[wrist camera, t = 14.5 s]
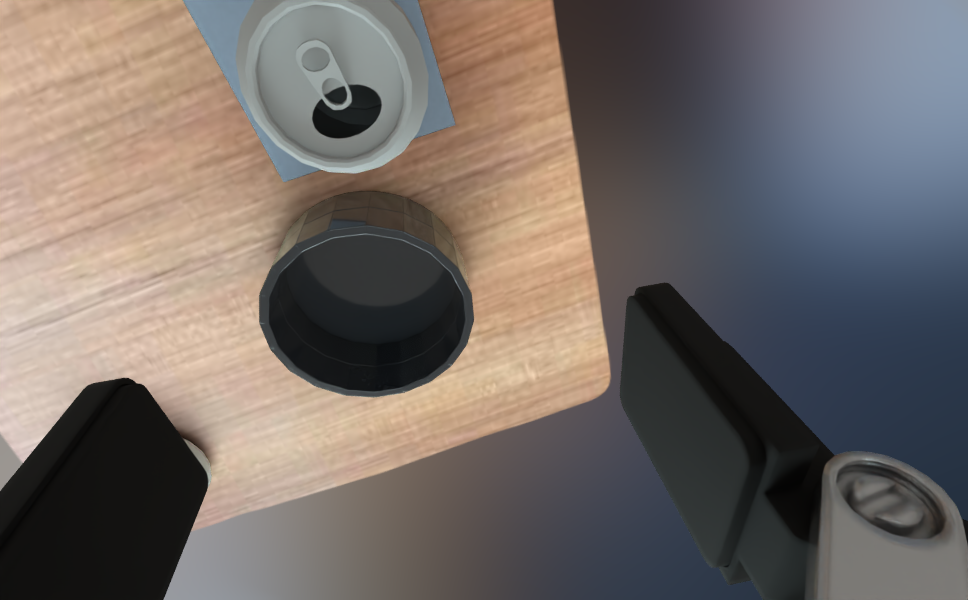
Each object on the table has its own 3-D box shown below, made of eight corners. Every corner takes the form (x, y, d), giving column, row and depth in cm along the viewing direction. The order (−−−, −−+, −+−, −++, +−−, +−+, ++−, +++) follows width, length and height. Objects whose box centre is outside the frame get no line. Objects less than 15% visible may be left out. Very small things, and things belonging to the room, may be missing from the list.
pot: (277, 337, 37) (259, 389, 33) (281, 173, 31) (258, 207, 26) (444, 353, 41) (450, 402, 36) (481, 209, 34) (495, 246, 29)
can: (333, 141, 30) (301, 214, 20) (260, 13, 25) (171, 25, 16) (440, 92, 29) (461, 142, 19) (382, -47, 25) (371, -74, 15)
